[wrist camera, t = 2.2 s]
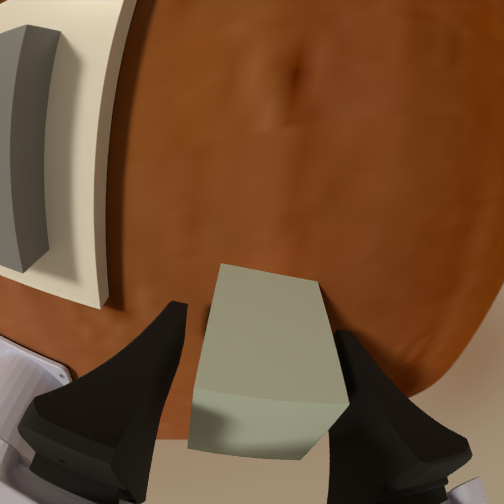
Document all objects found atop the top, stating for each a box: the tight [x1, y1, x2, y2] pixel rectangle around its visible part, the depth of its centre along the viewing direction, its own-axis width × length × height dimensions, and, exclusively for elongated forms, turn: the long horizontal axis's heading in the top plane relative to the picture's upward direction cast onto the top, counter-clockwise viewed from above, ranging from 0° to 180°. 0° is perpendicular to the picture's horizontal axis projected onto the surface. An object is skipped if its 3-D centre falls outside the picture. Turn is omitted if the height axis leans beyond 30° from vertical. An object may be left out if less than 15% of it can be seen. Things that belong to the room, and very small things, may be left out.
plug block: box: [188, 263, 350, 460], centre depth 10 cm, size 4×4×6 cm
